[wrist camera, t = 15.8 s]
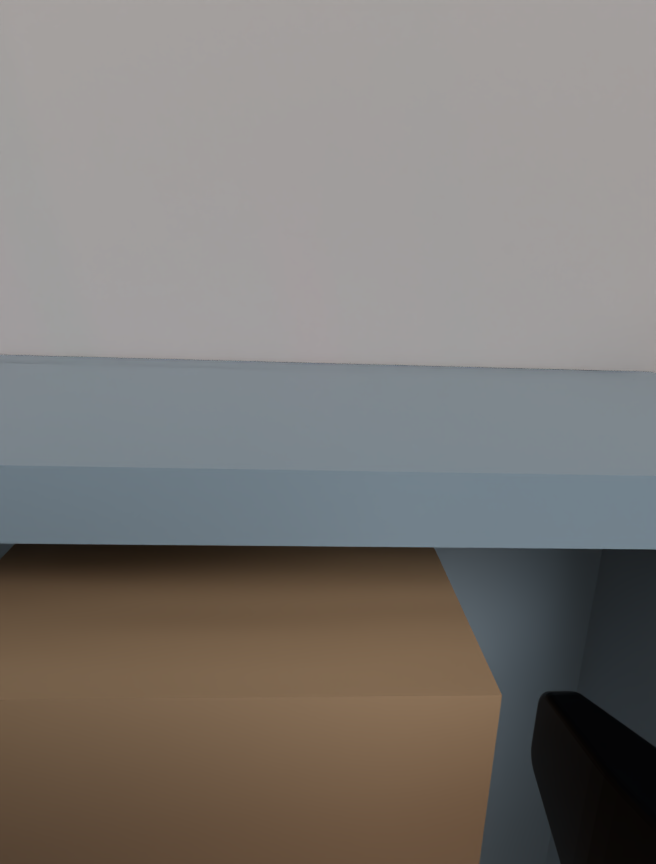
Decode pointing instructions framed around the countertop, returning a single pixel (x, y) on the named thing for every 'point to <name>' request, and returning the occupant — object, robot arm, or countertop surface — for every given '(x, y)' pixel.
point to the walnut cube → (240, 707)
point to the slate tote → (379, 504)
